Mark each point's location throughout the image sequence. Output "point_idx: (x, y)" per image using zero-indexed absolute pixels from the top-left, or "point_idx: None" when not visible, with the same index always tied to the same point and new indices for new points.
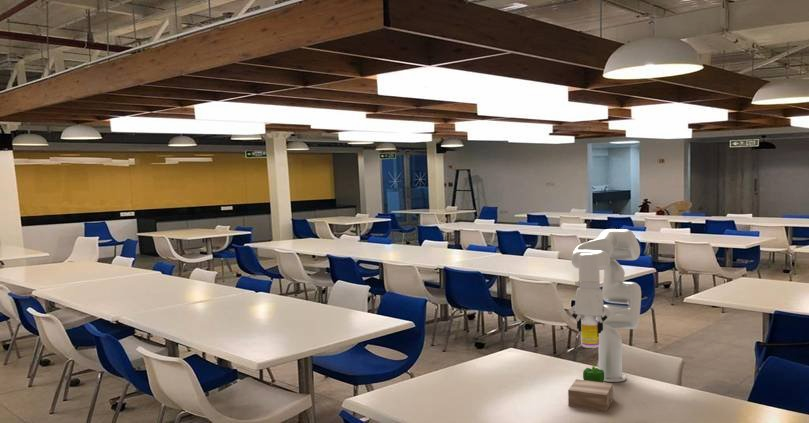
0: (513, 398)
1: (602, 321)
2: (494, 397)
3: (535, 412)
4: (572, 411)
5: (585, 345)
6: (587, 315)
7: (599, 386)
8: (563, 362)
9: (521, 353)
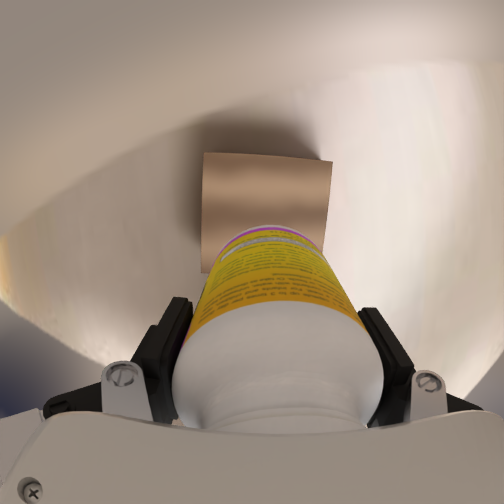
0: (449, 181)
1: (104, 370)
2: (479, 178)
3: (390, 91)
4: (303, 119)
5: (296, 231)
6: (323, 433)
7: (236, 231)
8: None
9: None
